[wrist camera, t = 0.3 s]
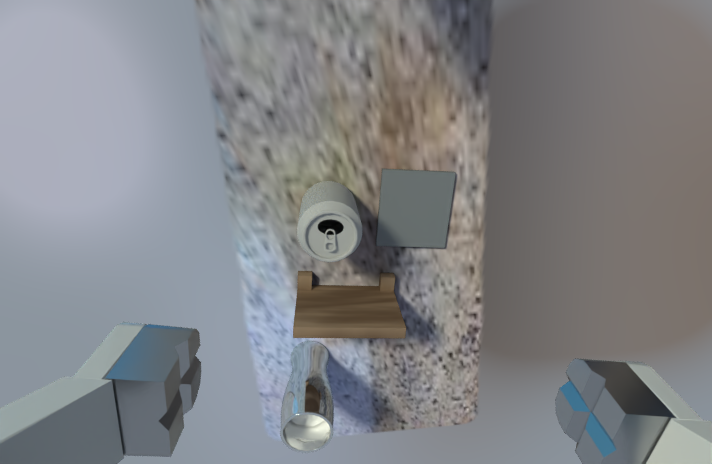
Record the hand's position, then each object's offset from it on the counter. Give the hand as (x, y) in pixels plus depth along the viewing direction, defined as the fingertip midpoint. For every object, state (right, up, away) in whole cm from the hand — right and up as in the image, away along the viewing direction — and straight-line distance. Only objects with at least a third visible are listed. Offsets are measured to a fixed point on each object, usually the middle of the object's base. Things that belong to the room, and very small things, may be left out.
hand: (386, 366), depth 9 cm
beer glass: (-8, -17, +56) cm, 59 cm away
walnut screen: (-2, -6, +52) cm, 53 cm away
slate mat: (+8, +6, +49) cm, 50 cm away
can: (-4, +7, +48) cm, 48 cm away
